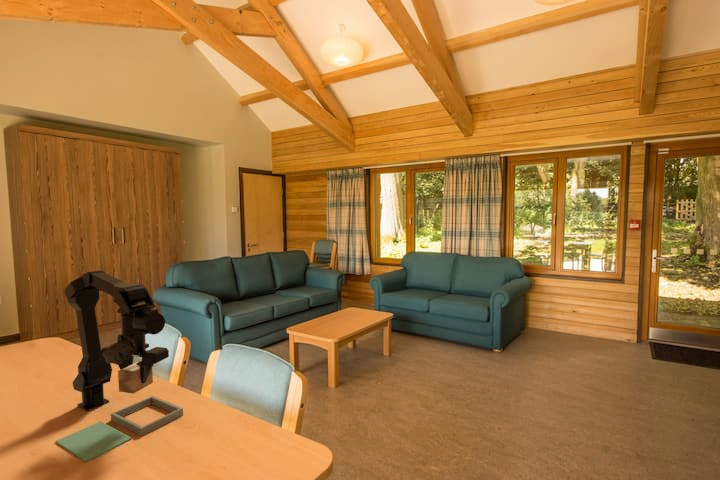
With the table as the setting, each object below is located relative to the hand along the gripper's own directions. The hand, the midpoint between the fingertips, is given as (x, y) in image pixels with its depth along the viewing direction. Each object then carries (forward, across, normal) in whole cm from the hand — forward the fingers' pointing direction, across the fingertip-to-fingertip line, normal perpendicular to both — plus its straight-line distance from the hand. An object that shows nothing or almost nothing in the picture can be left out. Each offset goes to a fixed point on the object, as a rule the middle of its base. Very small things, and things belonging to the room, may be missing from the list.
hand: (136, 381), depth 111 cm
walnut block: (+2, 0, 0) cm, 2 cm away
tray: (+12, +1, +2) cm, 12 cm away
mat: (+12, -4, -11) cm, 16 cm away
